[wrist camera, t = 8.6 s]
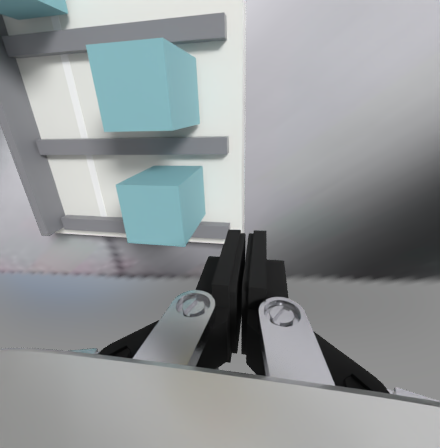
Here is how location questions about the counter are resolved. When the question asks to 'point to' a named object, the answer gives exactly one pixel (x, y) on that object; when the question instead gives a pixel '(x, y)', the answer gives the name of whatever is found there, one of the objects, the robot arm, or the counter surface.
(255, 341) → the robot arm
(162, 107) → the light teal block
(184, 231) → the teal rectangular block
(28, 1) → the teal rectangular block
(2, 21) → the white ridged tray
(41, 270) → the counter surface
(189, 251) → the counter surface
